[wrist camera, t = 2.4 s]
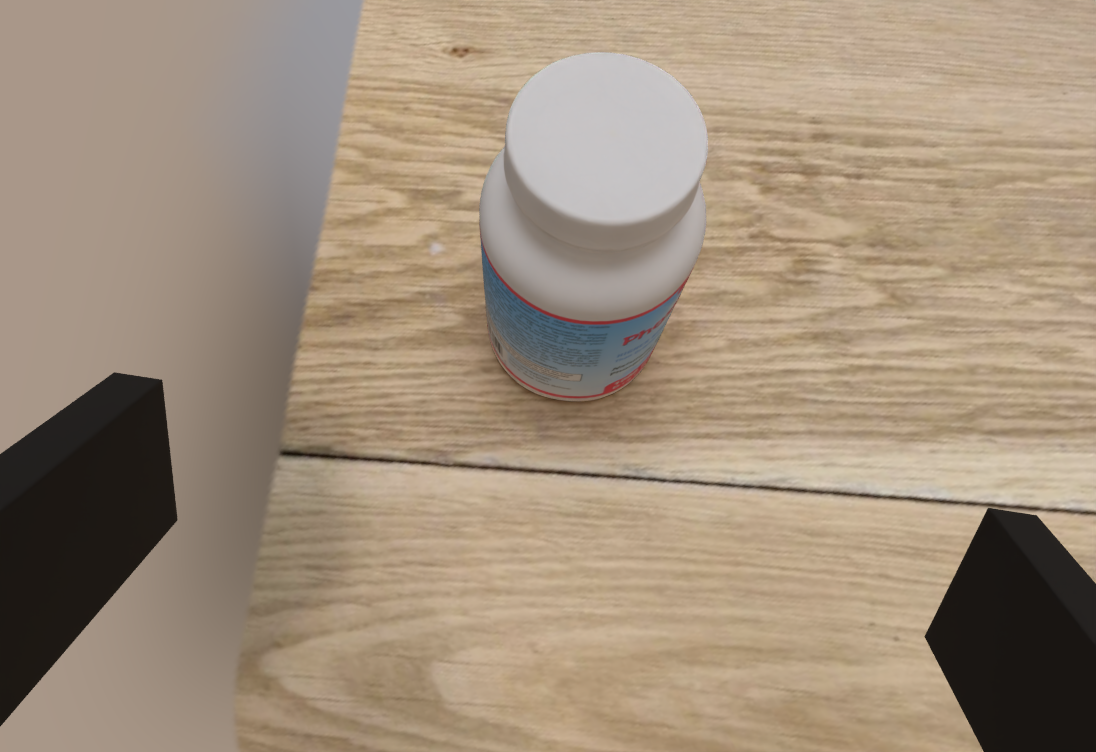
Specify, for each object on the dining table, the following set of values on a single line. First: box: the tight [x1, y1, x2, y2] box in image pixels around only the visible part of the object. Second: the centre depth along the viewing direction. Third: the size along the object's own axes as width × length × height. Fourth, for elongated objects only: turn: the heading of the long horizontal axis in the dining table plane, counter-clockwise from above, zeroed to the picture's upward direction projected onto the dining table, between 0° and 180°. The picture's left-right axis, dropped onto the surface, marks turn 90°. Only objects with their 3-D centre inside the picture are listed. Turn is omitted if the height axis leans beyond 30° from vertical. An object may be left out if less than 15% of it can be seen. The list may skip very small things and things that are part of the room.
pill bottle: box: [479, 52, 708, 401], centre depth 22 cm, size 6×6×11 cm
